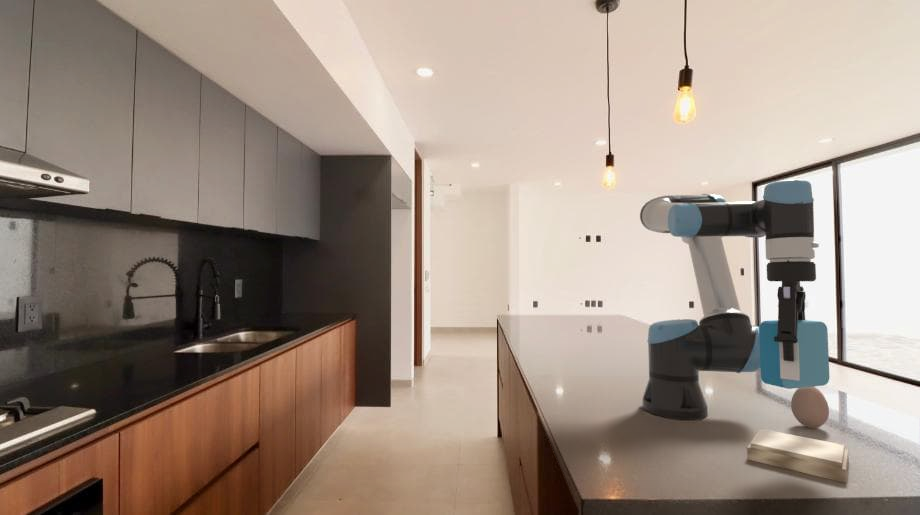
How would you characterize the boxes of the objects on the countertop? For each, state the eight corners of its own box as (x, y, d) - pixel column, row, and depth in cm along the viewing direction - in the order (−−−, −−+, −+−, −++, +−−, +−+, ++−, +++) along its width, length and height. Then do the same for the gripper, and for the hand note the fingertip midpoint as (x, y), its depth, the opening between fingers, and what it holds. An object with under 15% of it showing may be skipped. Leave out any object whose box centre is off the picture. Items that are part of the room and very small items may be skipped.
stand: (747, 459, 82) (747, 443, 82) (758, 442, 91) (758, 427, 91) (846, 483, 72) (845, 464, 73) (848, 461, 81) (848, 445, 81)
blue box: (805, 380, 86) (802, 319, 87) (830, 385, 82) (827, 321, 83) (760, 384, 83) (758, 320, 83) (784, 389, 78) (781, 323, 79)
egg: (835, 434, 95) (833, 389, 96) (799, 430, 98) (797, 387, 98) (821, 424, 102) (819, 382, 102) (787, 421, 104) (785, 380, 105)
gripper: (808, 257, 72) (814, 388, 71) (820, 262, 90) (824, 366, 89) (754, 259, 77) (759, 381, 76) (776, 263, 95) (779, 362, 94)
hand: (794, 373), depth 82 cm, fingers closed on blue box, 12 cm apart
